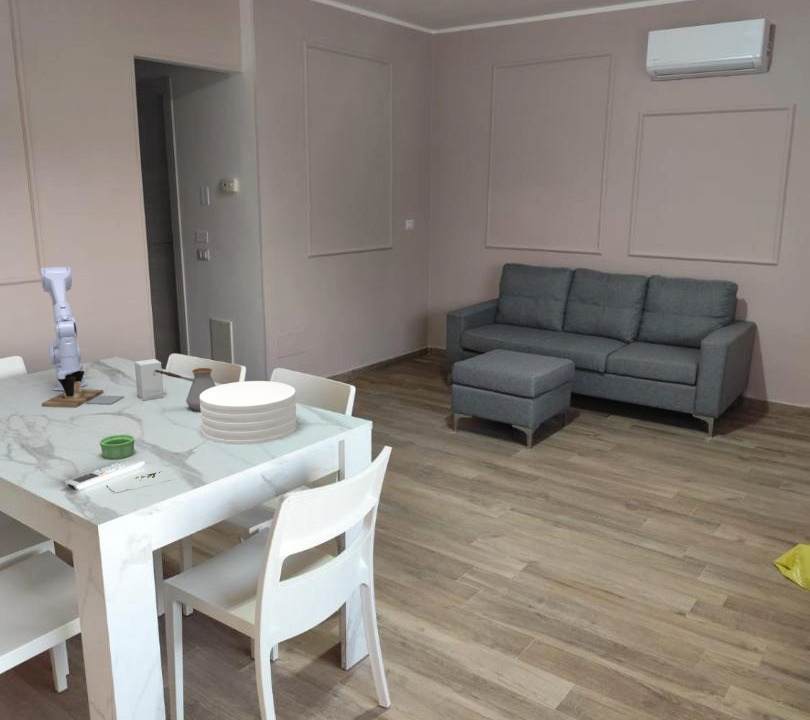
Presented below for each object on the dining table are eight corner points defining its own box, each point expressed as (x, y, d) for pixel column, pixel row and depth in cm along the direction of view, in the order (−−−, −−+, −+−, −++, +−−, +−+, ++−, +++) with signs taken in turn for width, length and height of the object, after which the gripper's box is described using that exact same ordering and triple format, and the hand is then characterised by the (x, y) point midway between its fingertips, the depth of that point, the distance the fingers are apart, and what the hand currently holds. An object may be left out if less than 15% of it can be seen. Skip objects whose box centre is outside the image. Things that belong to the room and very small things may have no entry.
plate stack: (182, 438, 215) (179, 400, 213) (237, 411, 241) (235, 377, 238) (264, 449, 205) (263, 410, 203) (313, 421, 231) (312, 385, 228)
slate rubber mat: (99, 396, 258) (99, 395, 258) (124, 397, 257) (124, 396, 257) (86, 403, 250) (85, 402, 250) (111, 404, 249) (111, 403, 249)
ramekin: (135, 458, 199) (133, 443, 198) (99, 462, 196) (97, 446, 195) (136, 447, 207) (135, 432, 206) (102, 450, 205) (101, 435, 204)
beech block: (71, 397, 257) (69, 381, 256) (82, 398, 257) (80, 381, 255) (65, 401, 253) (63, 384, 252) (76, 401, 253) (74, 384, 251)
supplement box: (164, 397, 257) (161, 362, 254) (142, 401, 253) (139, 365, 250) (158, 392, 263) (155, 358, 260) (137, 396, 259) (133, 361, 256)
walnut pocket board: (71, 392, 264) (71, 388, 264) (103, 393, 263) (103, 389, 263) (42, 406, 247) (41, 403, 247) (76, 407, 245) (75, 404, 245)
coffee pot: (216, 401, 252) (213, 358, 249) (227, 409, 243) (224, 364, 240) (152, 411, 241) (148, 366, 238) (161, 420, 232) (157, 373, 228)
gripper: (67, 351, 258) (71, 388, 262) (46, 360, 244) (51, 400, 247) (87, 351, 258) (91, 388, 261) (68, 360, 244) (72, 400, 247)
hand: (73, 394), depth 254 cm, fingers closed on beech block, 4 cm apart
